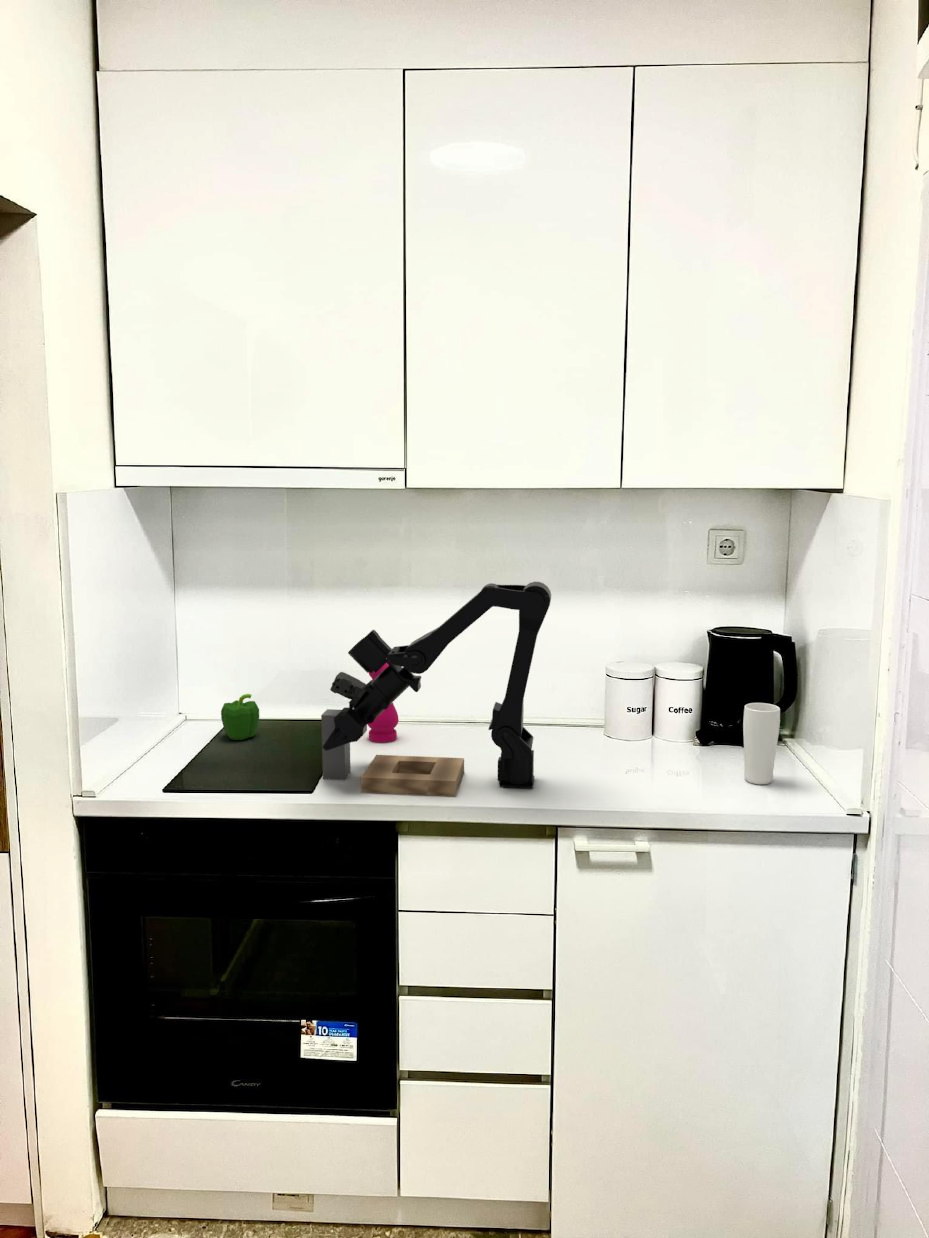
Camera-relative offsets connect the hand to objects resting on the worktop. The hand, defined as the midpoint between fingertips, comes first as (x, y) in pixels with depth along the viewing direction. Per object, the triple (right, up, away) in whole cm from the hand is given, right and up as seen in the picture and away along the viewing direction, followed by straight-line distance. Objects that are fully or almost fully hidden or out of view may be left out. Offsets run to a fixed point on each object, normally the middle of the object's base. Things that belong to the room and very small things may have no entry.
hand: (330, 741), depth 192 cm
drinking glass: (+84, -8, -2) cm, 85 cm away
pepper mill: (+8, -3, +26) cm, 27 cm away
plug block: (+1, -7, +1) cm, 7 cm away
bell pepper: (-24, -3, +27) cm, 36 cm away
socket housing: (+17, -8, -3) cm, 19 cm away
